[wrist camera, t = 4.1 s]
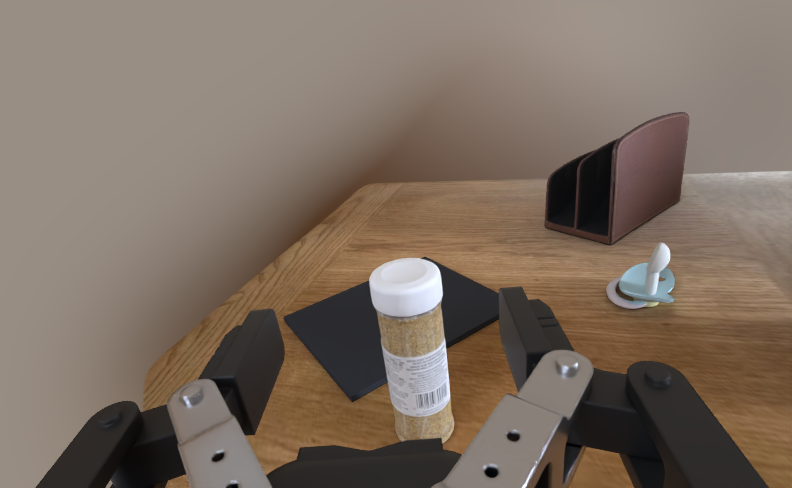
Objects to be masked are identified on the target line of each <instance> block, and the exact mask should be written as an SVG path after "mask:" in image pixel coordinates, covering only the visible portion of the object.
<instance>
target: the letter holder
mask: <svg viewBox="0 0 792 488" xmlns="http://www.w3.org/2000/svg"><path fill="white" fill-rule="evenodd" d="M688 127H689V115H688V114H687V113H685V112H678V113H671V114H667V115H663V116H660V117H656V118H654V119H651V120H649V121H647V122H645V123H643V124H641V125H639V126H638V127H636V128H634V129H633V130H631V131H630V132H628V133H626V134H625V135H624V136H622V137H621V138H619V139H616V140H614V141H612V142H610V143H608V144H606V145H604V146H602V147H600V148H599V149H597V150H594V151H592V152H589V153H586V154H584V155H582V156H580V157H578V158H576V159H574V160H572V161H570V162H568V163H567V164H565V165H563V166H562V167H560V168H559V169H557V170H556V171H554V172H553V173H552V174H551V175H550V177H549V178H548V181H547V193H546V209H545V228H548V229H552V230H556V231H559V232H563V233H567V234H571V235H574V236H578V237H582V238H585V239H589V240H593V241H597V242H601V243H605V244H608V245H611V244H613V243H614V242H616V241H617V240H618V239H620V238H621V237H623V236H624V235H626V234H627V233H629V232H631V231H632V230H634V229H635V228H637V227H638V226H640V225H642V224H643V223H645V222H647V221H648V220H650V219H651V218H653V217H654V216H656V215H657V214H659V213H661V212H662V211H664V210H666V209H667V208H669V207H670V206H672V205H673V204H675V203H677V202H678V201H679V200H680V193H681V184H682V177H683V170H684V161H685V154H686V146H687V137H688Z"/></svg>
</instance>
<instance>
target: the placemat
mask: <svg viewBox="0 0 792 488" xmlns="http://www.w3.org/2000/svg"><path fill="white" fill-rule="evenodd" d="M421 259H424V260H427V261H430V262H432V263H434V264H435V265H436V266H437V267H438V268H439V270H440V274H441V281H442V290H443V296H442V302H441V310H442V318H443V329H444V337H445V343H446V348H448V347H450V346H452V345H453V344H455V343H457V342H459V341H460V340H462V339H464V338H466V337H468V336H469V335H471V334H473V333H475V332H476V331H478V330H480V329H482V328H483V327H485V326H487V325H489V324H491V323H492V322H494V321H496V320H498V319H499V293H497V292H495V291H493V290H491V289H489V288H487V287H485V286H483V285H481V284H479V283H477V282H475V281H473V280H471V279H469V278H467V277H465V276H463V275H461V274H459V273H457V272H455V271H453V270H451V269H449V268H447V267H445V266H443V265H441V264H439V263H437V262H435V261H433V260H431V259H429V258H427V257H423V258H421ZM284 321H285V322H286V323H287V324H288V326H289V327H290V328H291V329H292V330H293V332H294V333H295V334H296V335H297V336H298V338H299V339H300V340H301V341H302V342H303V344H304V345H305V346H306V347H307V348H308V350H309V351H310V352H311V353H312V354H313V356H314V357H315V358H316V359H317V360H318V362H319V363H320V364H321V365H322V366H323V368H324V369H325V370H326V371H327V372H328V374H329V375H330V376H331V377H332V378H333V380H334V381H335V382H336V383H337V384H338V386H339V387H340V388H341V389H342V390H343V392H344V393H345V394H346V395H347V396H348V398H349V399H350V400H351V401H352V402H353V401H354V400H356V399H358V398H360V397H362V396H363V395H365V394H367V393H369V392H370V391H372V390H374V389H376V388H377V387H379V386H381V385H383V384H385V383H386V382H388V380H387V373H386V367H385V362H384V356H383V350H382V344H381V333H380V327H379V322H378V316H377V311H376V309H375V307H374V305H373V303H372V298H371V292H370V285H369V281H367V282H364V283H362V284H360V285H357V286H355V287H353V288H350V289H348V290H346V291H343V292H341V293H339V294H336V295H334V296H332V297H329V298H327V299H324V300H322V301H320V302H317V303H315V304H313V305H310V306H308V307H306V308H303V309H301V310H299V311H296V312H294V313H292V314H289V315H287V316H284Z"/></svg>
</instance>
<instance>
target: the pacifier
mask: <svg viewBox="0 0 792 488" xmlns="http://www.w3.org/2000/svg"><path fill="white" fill-rule="evenodd" d="M669 260H670V250H669V248H668V247H667V245H666V244H664V243H662V242H659V243H658V245H657V246H656V248H655V249H654V251H653V253H652V255H651V258H650V260H649V262H646V263H641V264H638V265H635V266H633V267H632V268H630V269H629V270H627V271H626V272H625V273H624V275H623V276H620V277H617V278H615V279H613V280H612V281H611V282H610V283H609V284H608V286H607V291H606V292H607V295H608V298H609V299H610V300H611V301H612V302H613V303H614V304H616V305H618V306H620V307H623V308H629V309H635V308H641V307H654V306H656V305H658V304H659V302H661V303H672V302H673V301H674V298H673V297H672V296H671V295H669V294H667V293H669V292H670V291H671V290H672V288H673V286H674V283H675V277H674V275H673V273H672V272H671V270H670V269H669V268H668V267H666V266H667V264H668V262H669ZM659 277H663V278H664V279H665V280H664V281H658V279H659ZM618 286H619V288H620V291H621V292H622V293H624V294H626V295H629V296H631V297H632V299H633V301H628V300H625V299H622V298H621V297H619V296H618V295H617V293H616V291H615V290H616V288H617V287H618Z"/></svg>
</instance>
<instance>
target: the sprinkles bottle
mask: <svg viewBox="0 0 792 488" xmlns="http://www.w3.org/2000/svg"><path fill="white" fill-rule="evenodd" d="M369 285H370V292H371V298H372V303H373V305H374V307H375V309H376V311H377V316H378V322H379V327H380V333H381V344H382V350H383V356H384V362H385V367H386V373H387V380H388V386H389V392H390V398H391V401H392V404H393V411H394V417H395V430H396V434H397V436H398V438H399V439H400V440H401V441H406V440H418V439H432V438H442V444H443V443H444V442H445V441H447V440H448V439H449V437H450V436H451V434H452V432H453V428H454V418H453V415H452V413H451V402H450V387H449V376H448V364H447V354H446V343H445V337H444V329H443V318H442V310H441V302H442V296H443V290H442V281H441V274H440V270H439V268H438V267H437V266H436V265H435V264H434V263H432V262H430V261H427V260H424V259H419V258H403V259H398V260H393V261H390V262H387V263H385V264H383V265H381V266H379V267H378V268H377V269H375V270H374V271H373V273H372V274H371V276H370V279H369Z"/></svg>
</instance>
